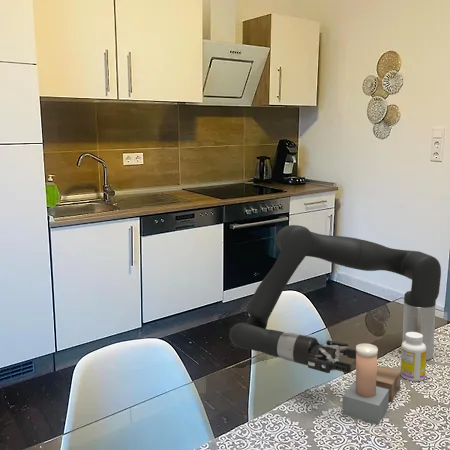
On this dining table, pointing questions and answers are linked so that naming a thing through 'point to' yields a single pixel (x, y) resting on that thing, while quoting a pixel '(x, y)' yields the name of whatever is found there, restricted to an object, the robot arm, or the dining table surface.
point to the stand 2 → (388, 380)
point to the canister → (366, 370)
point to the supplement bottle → (413, 357)
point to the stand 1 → (365, 404)
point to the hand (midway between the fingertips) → (356, 362)
